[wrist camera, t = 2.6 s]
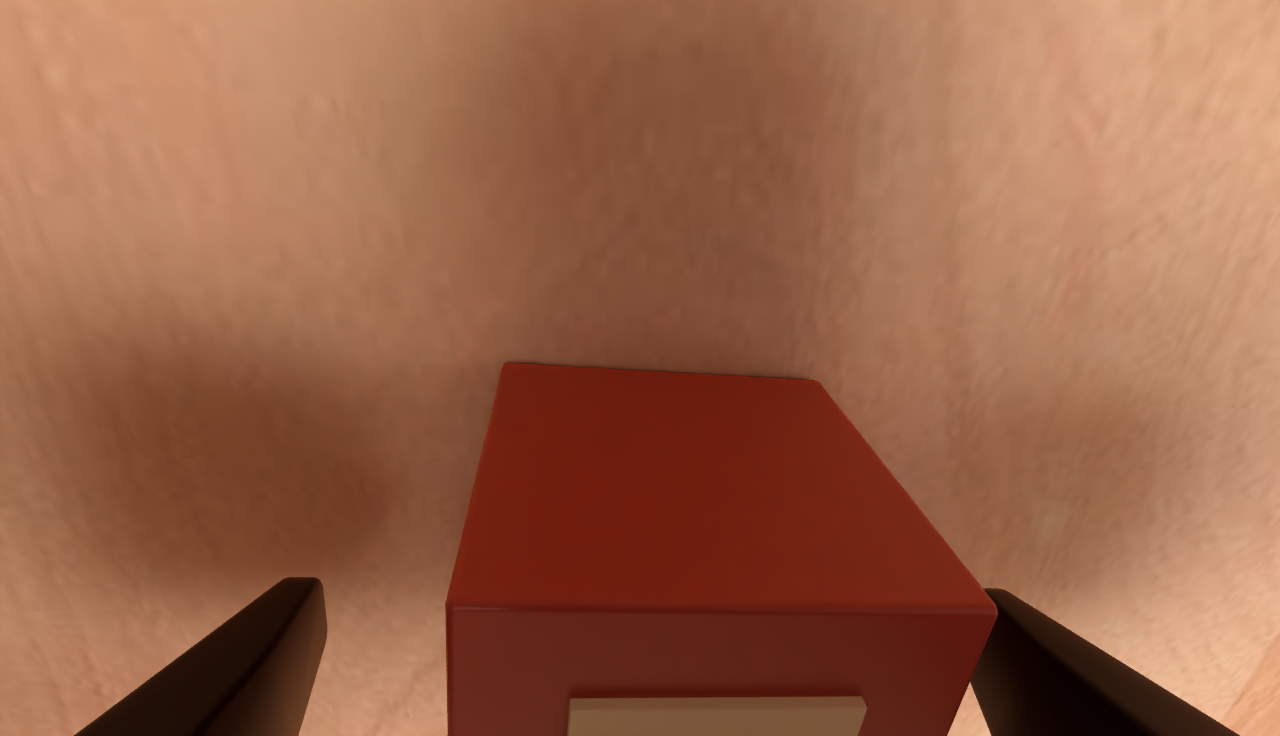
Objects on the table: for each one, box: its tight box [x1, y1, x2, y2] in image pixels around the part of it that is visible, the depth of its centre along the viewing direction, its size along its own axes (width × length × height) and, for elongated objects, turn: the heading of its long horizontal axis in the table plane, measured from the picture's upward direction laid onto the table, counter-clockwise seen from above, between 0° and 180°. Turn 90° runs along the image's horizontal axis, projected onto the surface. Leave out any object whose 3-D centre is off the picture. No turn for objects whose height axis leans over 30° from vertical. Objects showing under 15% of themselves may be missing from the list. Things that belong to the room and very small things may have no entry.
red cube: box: [445, 363, 998, 736], centre depth 9 cm, size 5×5×5 cm
